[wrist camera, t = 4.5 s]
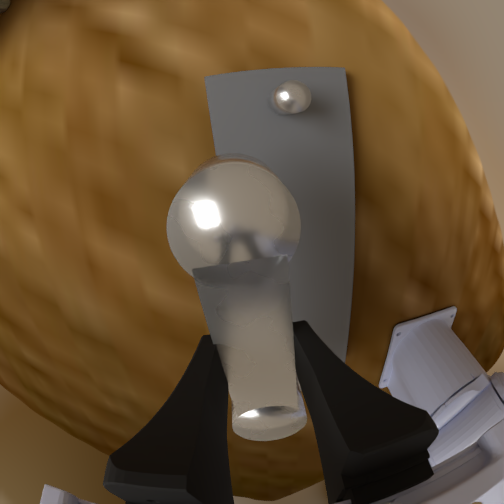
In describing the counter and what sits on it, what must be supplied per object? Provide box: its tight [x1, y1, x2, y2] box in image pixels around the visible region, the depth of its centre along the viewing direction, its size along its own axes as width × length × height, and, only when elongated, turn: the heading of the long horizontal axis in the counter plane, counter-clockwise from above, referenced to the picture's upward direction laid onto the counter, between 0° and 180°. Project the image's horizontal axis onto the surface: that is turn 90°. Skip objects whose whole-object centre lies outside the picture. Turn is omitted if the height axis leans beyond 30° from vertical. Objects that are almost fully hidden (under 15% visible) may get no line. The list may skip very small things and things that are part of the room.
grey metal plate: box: [205, 67, 355, 390], centre depth 17 cm, size 23×8×4 cm, turn 7°
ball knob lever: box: [167, 153, 307, 441], centre depth 12 cm, size 15×4×3 cm, turn 8°
